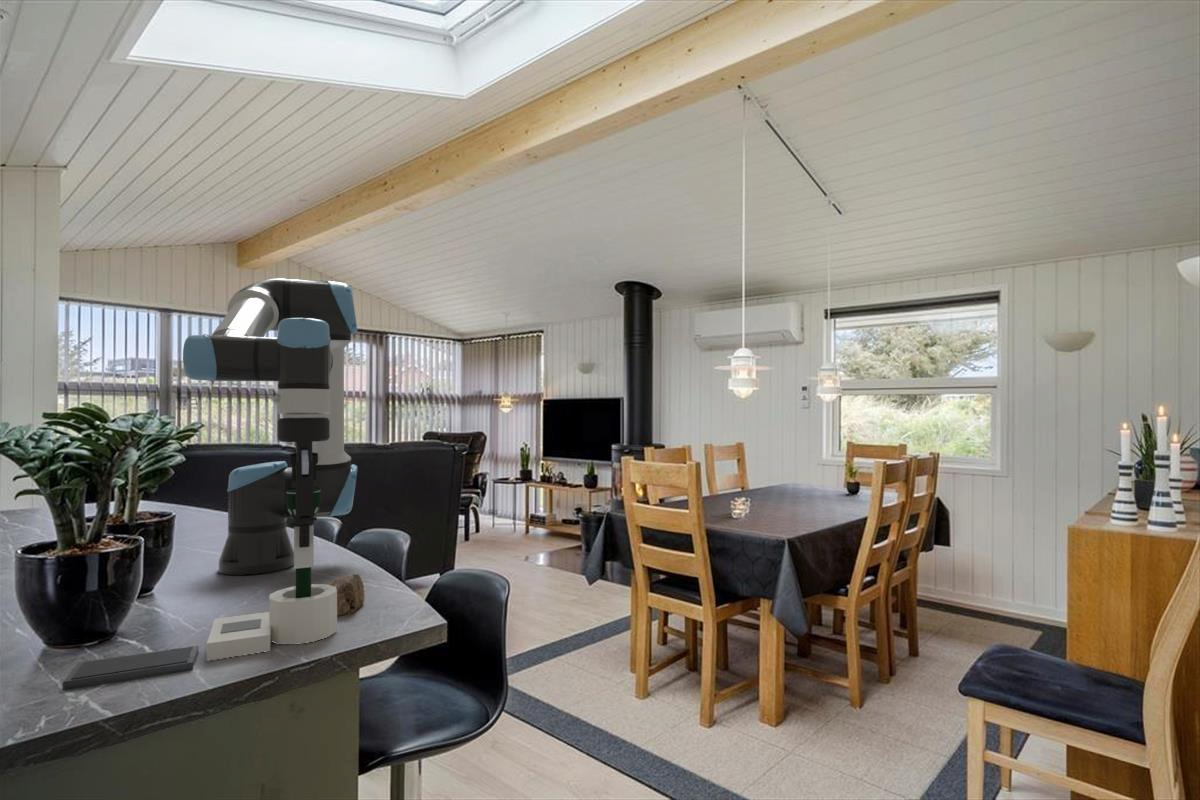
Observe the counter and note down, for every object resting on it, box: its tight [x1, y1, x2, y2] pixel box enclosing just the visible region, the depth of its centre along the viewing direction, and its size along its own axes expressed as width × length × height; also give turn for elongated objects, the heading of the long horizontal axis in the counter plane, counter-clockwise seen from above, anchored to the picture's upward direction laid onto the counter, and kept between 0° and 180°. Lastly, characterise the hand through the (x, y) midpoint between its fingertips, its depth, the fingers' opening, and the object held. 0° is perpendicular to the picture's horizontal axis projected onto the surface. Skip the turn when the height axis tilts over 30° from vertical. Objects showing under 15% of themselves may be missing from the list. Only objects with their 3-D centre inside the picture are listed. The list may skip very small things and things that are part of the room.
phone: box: [62, 644, 200, 691], centre depth 88 cm, size 7×14×1 cm, turn 116°
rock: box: [328, 573, 365, 617], centre depth 117 cm, size 15×10×6 cm
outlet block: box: [206, 583, 338, 662], centre depth 100 cm, size 12×17×6 cm
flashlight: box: [286, 487, 321, 598], centre depth 102 cm, size 5×5×20 cm
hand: (303, 565), depth 102 cm, fingers closed on flashlight, 2 cm apart
